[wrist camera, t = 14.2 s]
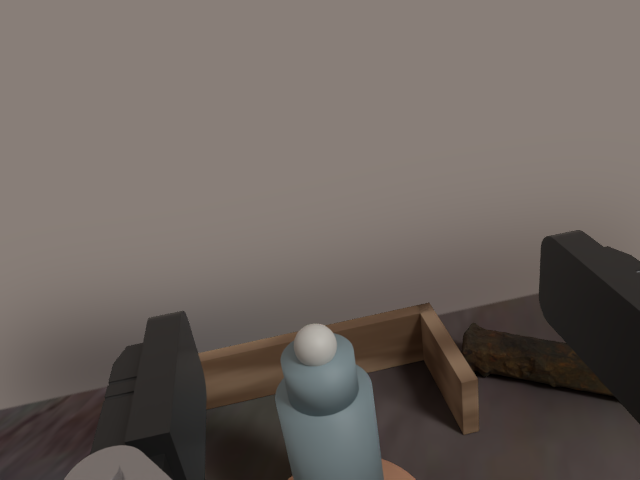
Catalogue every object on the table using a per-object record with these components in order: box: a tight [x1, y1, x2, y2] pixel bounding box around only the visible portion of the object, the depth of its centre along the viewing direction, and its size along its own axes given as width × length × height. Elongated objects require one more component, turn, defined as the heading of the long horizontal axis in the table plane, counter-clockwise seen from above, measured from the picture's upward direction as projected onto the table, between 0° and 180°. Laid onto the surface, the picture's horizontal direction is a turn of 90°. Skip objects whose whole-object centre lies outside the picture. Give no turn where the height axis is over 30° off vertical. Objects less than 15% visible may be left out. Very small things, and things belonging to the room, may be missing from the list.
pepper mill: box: [275, 324, 384, 480], centre depth 32 cm, size 5×5×15 cm
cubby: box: [198, 303, 479, 435], centre depth 45 cm, size 10×22×5 cm, turn 100°
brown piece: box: [462, 323, 615, 397], centre depth 44 cm, size 19×4×5 cm, turn 61°
